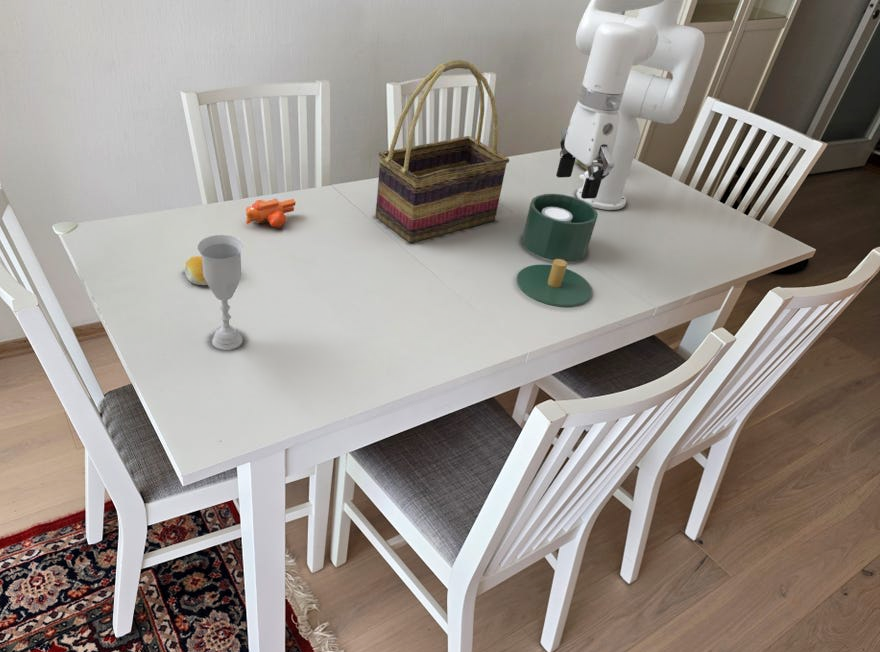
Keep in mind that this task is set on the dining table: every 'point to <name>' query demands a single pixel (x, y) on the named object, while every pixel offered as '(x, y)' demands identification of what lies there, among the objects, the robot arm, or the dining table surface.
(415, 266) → the dining table surface
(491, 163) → the basket
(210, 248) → the chalice
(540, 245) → the tin
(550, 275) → the lid
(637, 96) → the robot arm
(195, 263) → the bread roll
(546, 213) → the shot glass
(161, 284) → the dining table surface
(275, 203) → the orange plastic lumpy piece
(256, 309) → the dining table surface
